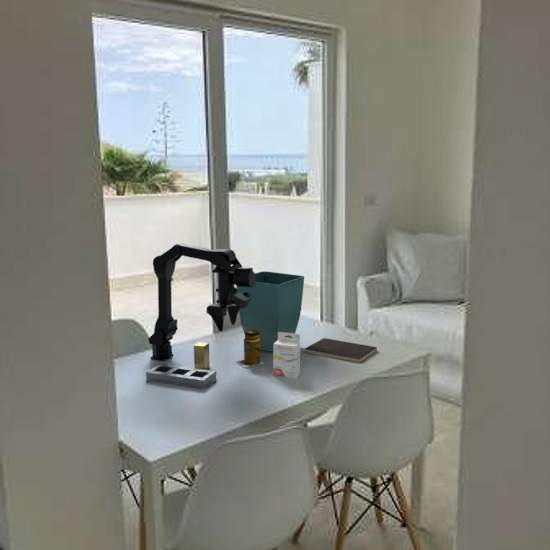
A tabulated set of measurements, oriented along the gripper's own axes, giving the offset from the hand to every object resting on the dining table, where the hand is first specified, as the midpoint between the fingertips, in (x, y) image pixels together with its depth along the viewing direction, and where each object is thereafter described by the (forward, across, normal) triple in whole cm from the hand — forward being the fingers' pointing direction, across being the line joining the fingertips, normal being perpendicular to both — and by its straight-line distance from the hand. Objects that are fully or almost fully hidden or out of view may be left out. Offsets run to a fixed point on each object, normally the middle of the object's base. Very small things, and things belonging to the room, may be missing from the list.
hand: (227, 327), depth 211 cm
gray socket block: (+14, -18, +8) cm, 25 cm away
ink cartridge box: (+15, 0, -23) cm, 27 cm away
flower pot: (+15, +27, -5) cm, 31 cm away
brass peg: (+14, -5, +8) cm, 17 cm away
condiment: (+15, +6, -6) cm, 17 cm away
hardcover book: (+15, +32, -33) cm, 48 cm away
